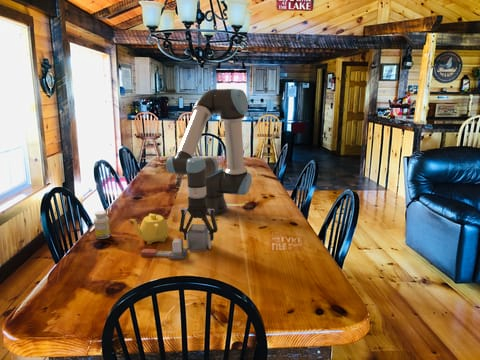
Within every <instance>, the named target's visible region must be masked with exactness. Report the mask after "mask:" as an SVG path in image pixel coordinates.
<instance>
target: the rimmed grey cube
mask: <svg viewBox="0 0 480 360" xmlns="http://www.w3.org/2000/svg"><path fill="white" fill-rule="evenodd" d="M187 232H188V235H189V248H188V251H189V252H207V250H208V249H209V245H208V234H209V230H208V229H207V227H206V225H205V224H197V223H196V224H194V223H193V224H192V223H191V224H190V226H189V228H188V230H187Z"/></svg>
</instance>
